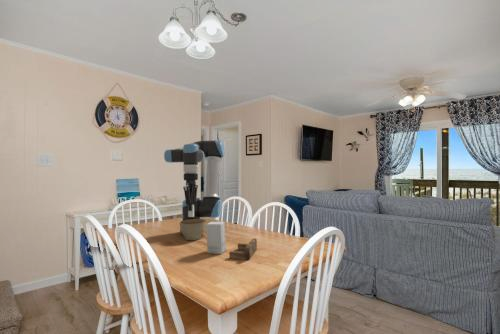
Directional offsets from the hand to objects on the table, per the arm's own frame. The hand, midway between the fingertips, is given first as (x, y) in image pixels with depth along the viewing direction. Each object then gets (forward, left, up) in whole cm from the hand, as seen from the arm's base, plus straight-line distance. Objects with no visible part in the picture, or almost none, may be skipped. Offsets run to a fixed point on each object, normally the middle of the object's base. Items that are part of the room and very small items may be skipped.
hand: (191, 216), depth 148 cm
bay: (0, +29, -18) cm, 34 cm away
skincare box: (0, +14, -19) cm, 23 cm away
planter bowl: (-22, -10, -19) cm, 31 cm away
